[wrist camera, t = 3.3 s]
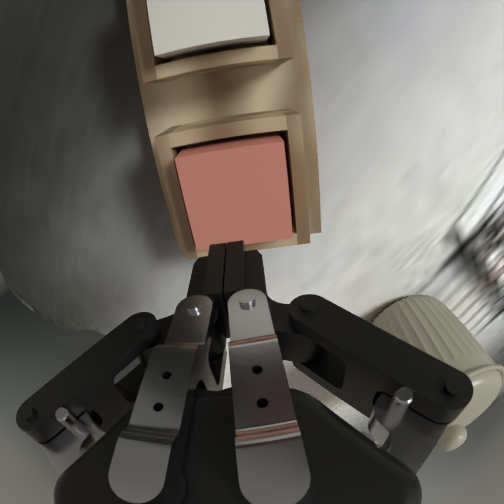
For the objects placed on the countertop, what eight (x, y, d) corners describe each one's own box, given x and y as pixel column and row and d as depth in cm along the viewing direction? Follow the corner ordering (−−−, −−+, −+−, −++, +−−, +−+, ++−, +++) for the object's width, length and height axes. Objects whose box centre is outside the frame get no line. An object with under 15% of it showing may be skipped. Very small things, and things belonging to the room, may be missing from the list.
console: (284, -47, 16) (296, -80, 10) (316, 223, 30) (334, 260, 24) (130, -20, 16) (100, -43, 11) (182, 241, 31) (169, 281, 25)
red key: (278, 134, 20) (283, 141, 18) (287, 220, 24) (292, 238, 22) (183, 148, 21) (174, 158, 18) (201, 231, 24) (197, 250, 22)
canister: (336, 369, 44) (363, 491, 26) (355, 280, 35) (421, 440, 17) (430, 352, 44) (473, 450, 26) (466, 268, 35) (547, 378, 17)
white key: (252, -39, 13) (253, -54, 11) (266, 41, 17) (269, 35, 14) (154, -20, 13) (142, -33, 11) (166, 59, 17) (154, 55, 15)
